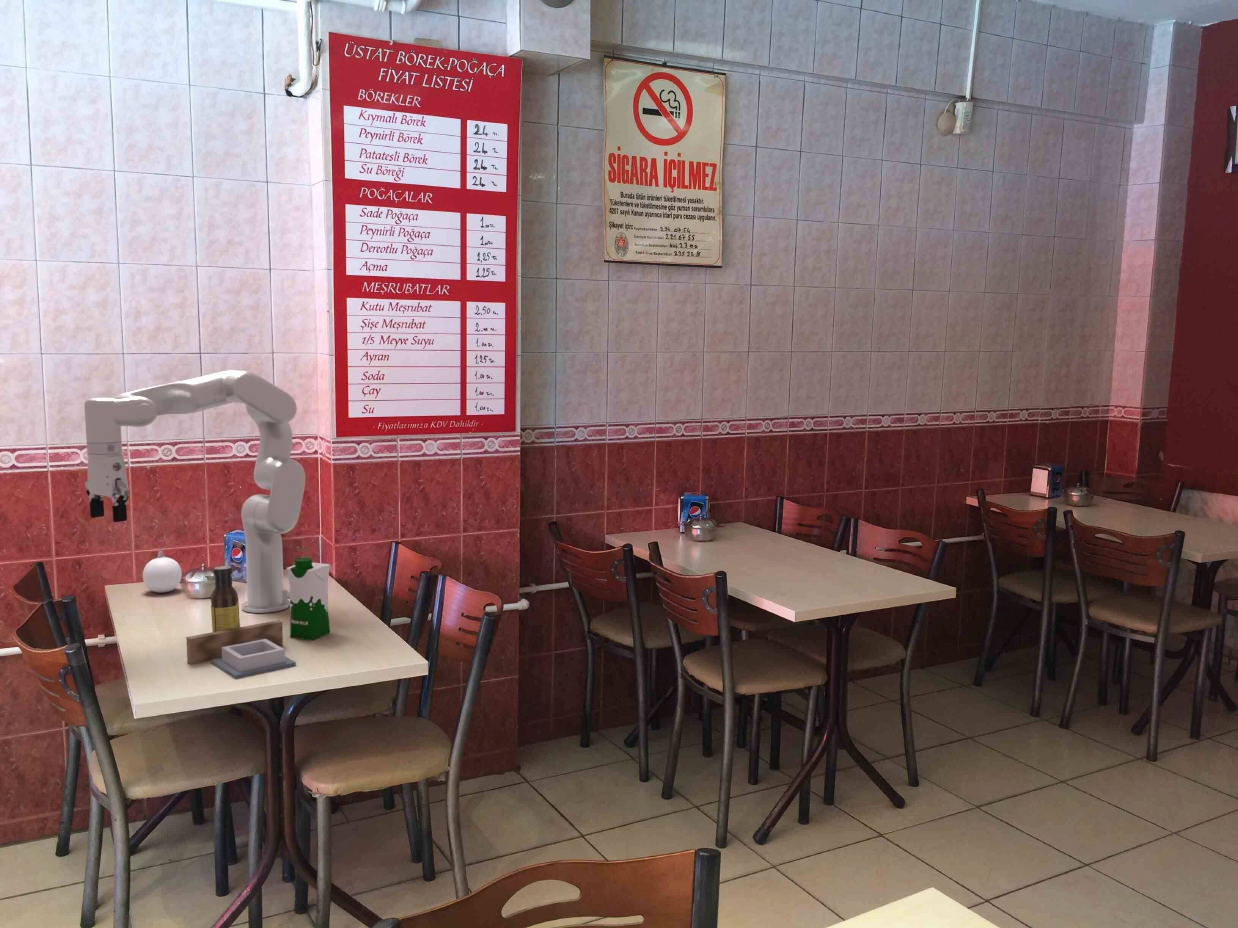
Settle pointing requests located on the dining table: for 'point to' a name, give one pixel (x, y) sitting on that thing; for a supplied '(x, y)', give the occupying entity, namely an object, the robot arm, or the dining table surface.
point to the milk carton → (308, 599)
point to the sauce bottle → (224, 601)
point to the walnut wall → (231, 640)
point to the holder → (252, 658)
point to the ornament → (162, 574)
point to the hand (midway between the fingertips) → (108, 519)
